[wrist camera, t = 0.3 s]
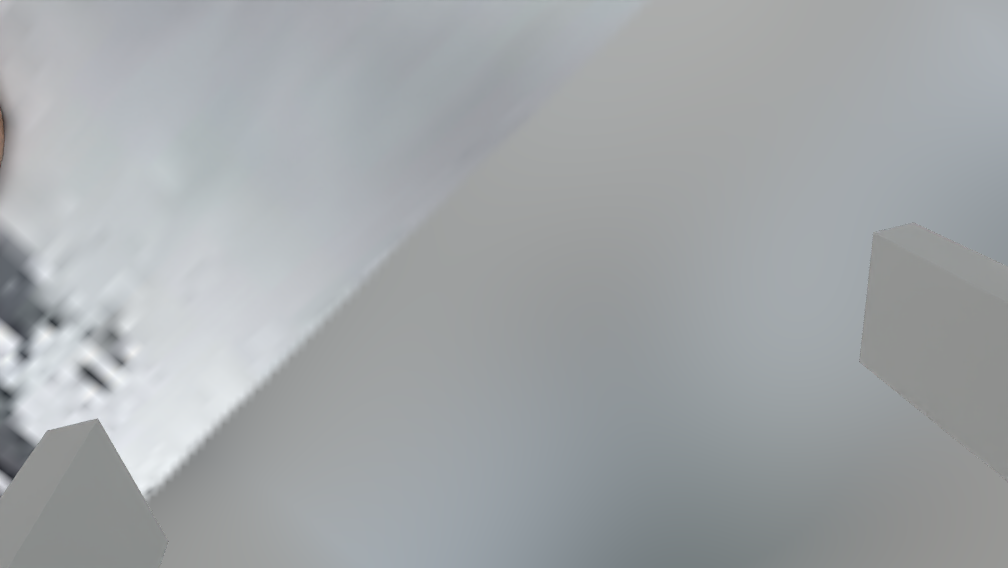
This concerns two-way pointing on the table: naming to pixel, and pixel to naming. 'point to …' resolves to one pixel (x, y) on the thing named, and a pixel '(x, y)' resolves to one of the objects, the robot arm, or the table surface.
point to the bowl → (1, 137)
